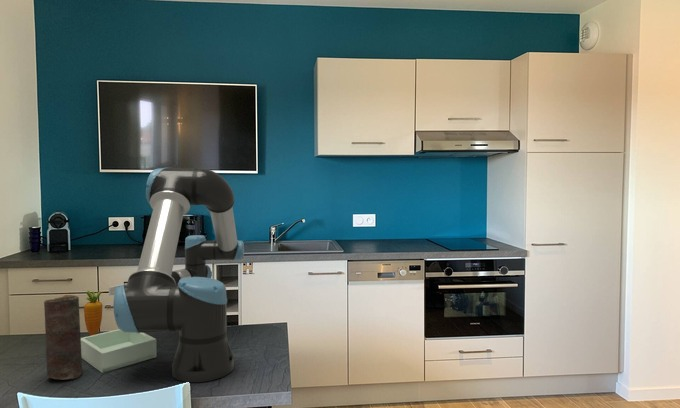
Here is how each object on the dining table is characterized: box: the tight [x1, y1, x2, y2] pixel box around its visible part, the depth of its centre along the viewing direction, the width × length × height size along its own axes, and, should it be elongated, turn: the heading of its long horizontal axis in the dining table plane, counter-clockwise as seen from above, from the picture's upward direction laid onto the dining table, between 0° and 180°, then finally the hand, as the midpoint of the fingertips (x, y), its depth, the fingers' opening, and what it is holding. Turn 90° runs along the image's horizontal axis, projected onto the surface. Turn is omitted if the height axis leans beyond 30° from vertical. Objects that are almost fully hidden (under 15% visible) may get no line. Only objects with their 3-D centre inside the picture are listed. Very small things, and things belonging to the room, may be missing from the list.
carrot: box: [83, 290, 103, 336], centre depth 135 cm, size 5×5×15 cm
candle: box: [43, 294, 83, 381], centre depth 108 cm, size 8×7×20 cm
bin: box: [81, 328, 158, 374], centre depth 121 cm, size 16×14×5 cm
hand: (122, 294), depth 144 cm, fingers open, 13 cm apart
